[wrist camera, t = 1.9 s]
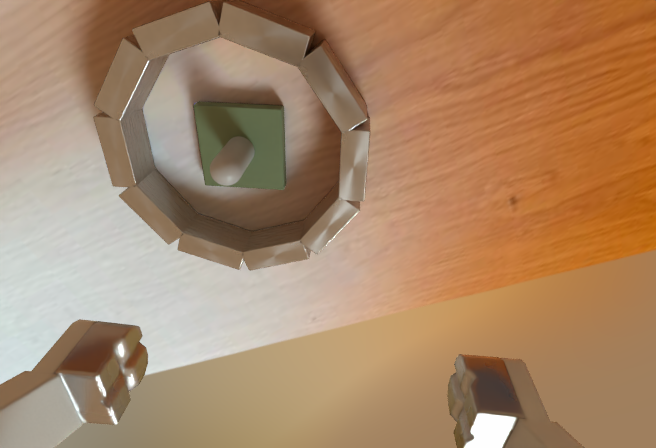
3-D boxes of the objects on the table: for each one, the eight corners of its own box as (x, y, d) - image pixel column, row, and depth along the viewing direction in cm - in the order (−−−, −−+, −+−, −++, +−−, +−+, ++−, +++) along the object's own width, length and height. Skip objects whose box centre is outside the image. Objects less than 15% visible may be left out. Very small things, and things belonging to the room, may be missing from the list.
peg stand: (284, 105, 27) (267, 130, 23) (286, 184, 30) (272, 221, 26) (198, 101, 28) (164, 125, 23) (209, 179, 31) (181, 215, 26)
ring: (379, 4, 24) (381, 7, 21) (358, 255, 33) (357, 278, 31) (89, -6, 25) (58, -5, 22) (151, 241, 34) (134, 262, 32)
